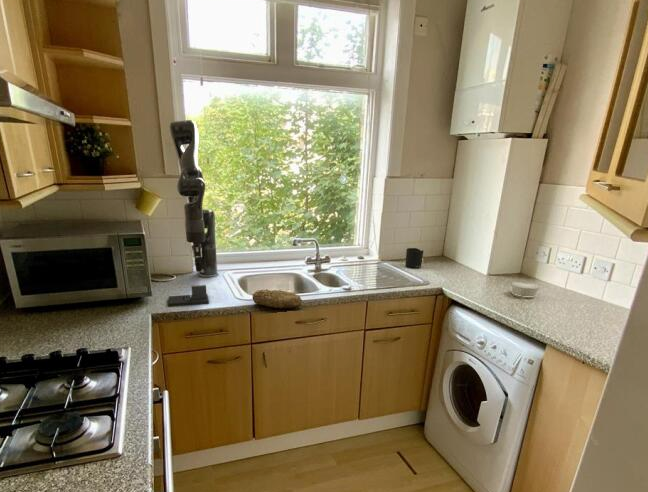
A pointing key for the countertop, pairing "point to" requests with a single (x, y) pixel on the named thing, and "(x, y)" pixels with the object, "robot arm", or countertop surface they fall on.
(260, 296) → the brown rounded lump
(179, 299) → the base pad
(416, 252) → the pen holder
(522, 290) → the ramekin
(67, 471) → the countertop surface
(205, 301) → the joining pad
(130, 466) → the countertop surface
